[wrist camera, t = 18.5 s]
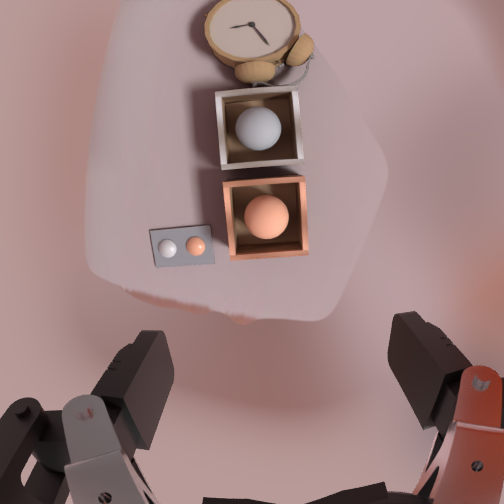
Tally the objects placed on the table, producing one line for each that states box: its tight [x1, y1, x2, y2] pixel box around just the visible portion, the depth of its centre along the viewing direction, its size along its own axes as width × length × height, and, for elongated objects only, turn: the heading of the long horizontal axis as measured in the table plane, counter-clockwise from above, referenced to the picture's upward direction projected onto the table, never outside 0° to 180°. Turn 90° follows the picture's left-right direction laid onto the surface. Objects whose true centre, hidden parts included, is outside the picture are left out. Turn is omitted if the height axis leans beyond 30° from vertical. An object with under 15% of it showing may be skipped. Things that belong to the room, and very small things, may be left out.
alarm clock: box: [204, 0, 315, 88], centre depth 29 cm, size 11×5×15 cm
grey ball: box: [235, 107, 281, 150], centre depth 31 cm, size 5×5×5 cm
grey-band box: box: [215, 86, 304, 170], centre depth 32 cm, size 9×9×5 cm
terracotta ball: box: [244, 195, 289, 239], centre depth 34 cm, size 5×5×5 cm
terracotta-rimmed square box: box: [223, 175, 309, 261], centre depth 34 cm, size 9×9×5 cm
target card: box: [150, 225, 215, 268], centre depth 38 cm, size 5×8×1 cm, turn 95°
